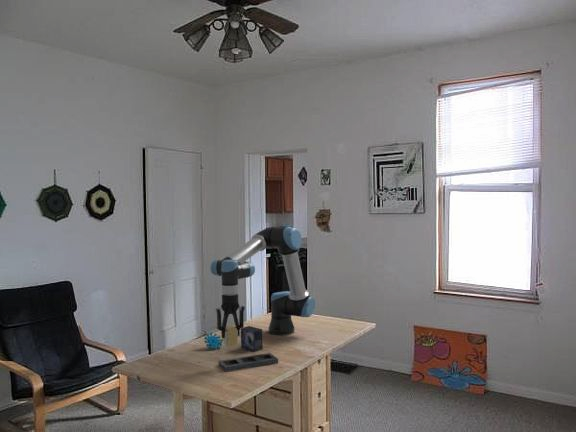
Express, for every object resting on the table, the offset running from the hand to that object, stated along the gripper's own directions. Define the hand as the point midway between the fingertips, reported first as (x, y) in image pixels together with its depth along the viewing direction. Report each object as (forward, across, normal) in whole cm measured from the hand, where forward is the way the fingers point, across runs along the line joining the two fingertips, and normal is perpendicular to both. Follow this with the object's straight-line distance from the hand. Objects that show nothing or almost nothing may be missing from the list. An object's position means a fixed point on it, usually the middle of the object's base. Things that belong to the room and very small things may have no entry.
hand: (230, 344), depth 226 cm
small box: (+11, -19, -22) cm, 31 cm away
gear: (+11, -2, -32) cm, 34 cm away
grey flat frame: (+11, -9, 0) cm, 14 cm away
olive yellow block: (0, 0, 0) cm, 0 cm away
